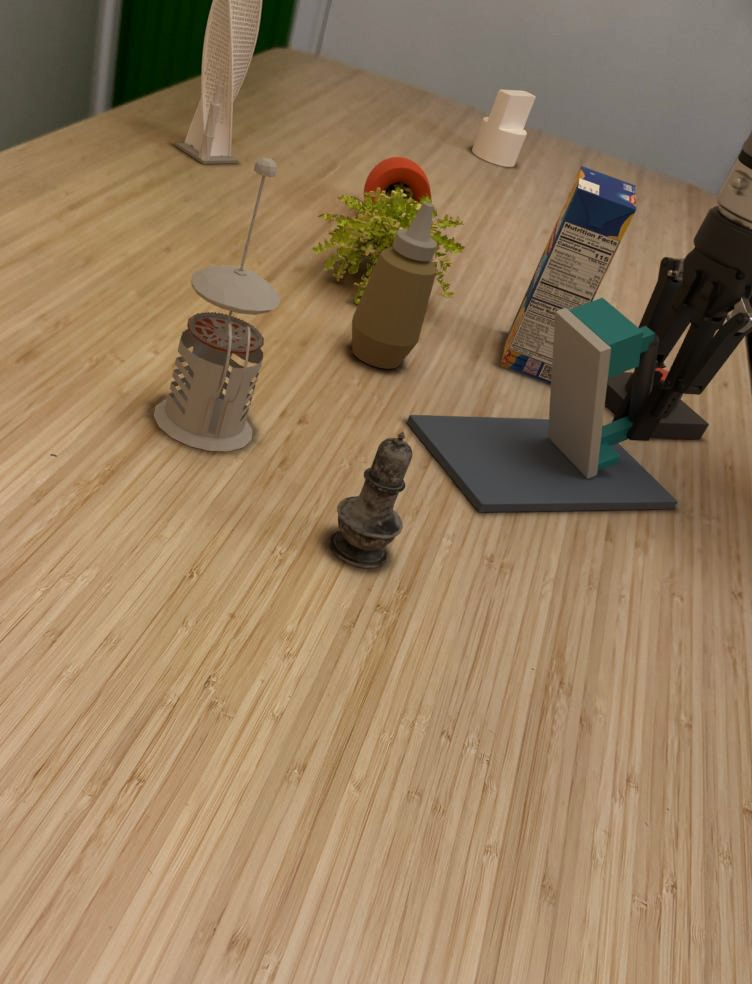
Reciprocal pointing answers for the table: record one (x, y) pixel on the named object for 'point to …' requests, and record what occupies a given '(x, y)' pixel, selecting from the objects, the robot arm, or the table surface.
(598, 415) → the iron
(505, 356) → the beverage box
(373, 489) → the salt shaker
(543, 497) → the ironing mat
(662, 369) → the power button
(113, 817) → the table surface
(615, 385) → the button base
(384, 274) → the squeeze bottle
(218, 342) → the french press
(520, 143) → the cylinder with rectangular tab
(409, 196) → the potted plant
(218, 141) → the skyscraper
